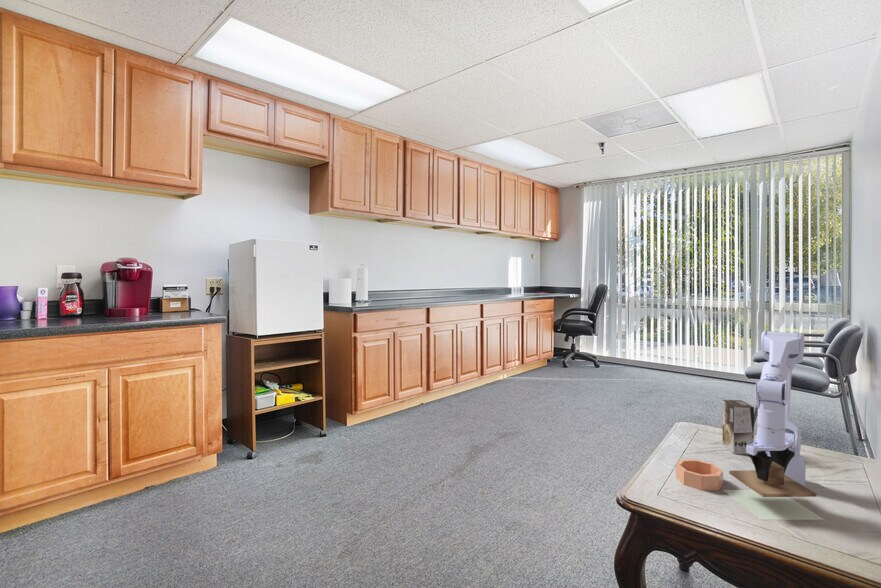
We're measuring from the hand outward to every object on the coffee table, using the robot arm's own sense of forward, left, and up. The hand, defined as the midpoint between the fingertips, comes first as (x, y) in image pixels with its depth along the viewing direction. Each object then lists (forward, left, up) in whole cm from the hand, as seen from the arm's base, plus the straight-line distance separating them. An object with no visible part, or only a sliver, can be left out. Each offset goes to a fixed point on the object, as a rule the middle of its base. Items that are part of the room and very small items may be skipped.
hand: (770, 477), depth 114 cm
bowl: (+11, -13, -7) cm, 19 cm away
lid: (0, 0, -2) cm, 2 cm away
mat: (0, 0, -7) cm, 7 cm away
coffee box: (-16, -37, -8) cm, 41 cm away
